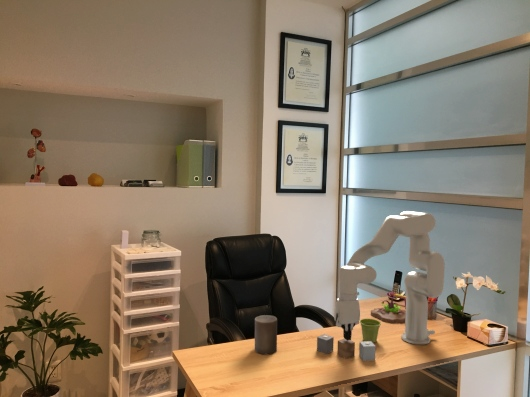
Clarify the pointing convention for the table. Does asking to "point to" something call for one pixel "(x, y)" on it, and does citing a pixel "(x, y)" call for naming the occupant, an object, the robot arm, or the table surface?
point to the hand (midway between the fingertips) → (347, 338)
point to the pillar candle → (265, 334)
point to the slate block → (367, 350)
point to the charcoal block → (325, 343)
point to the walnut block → (346, 348)
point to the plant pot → (370, 329)
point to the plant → (390, 313)
